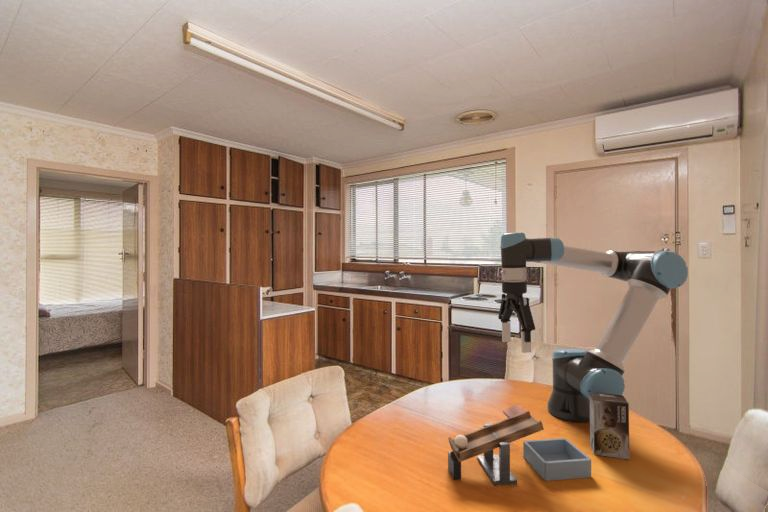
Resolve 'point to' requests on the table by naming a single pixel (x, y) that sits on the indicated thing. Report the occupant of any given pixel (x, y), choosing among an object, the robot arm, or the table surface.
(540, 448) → the dish
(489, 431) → the lever
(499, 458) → the fulcrum
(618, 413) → the coffee box
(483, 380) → the table surface
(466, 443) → the ball
